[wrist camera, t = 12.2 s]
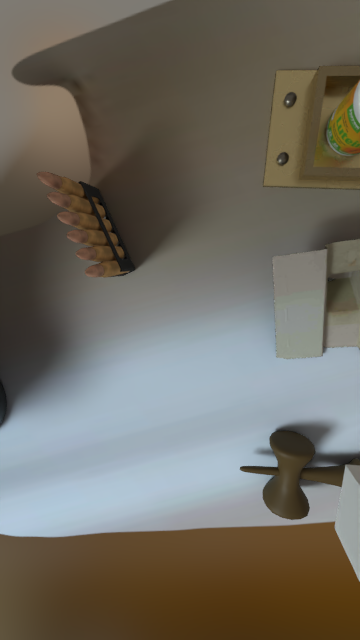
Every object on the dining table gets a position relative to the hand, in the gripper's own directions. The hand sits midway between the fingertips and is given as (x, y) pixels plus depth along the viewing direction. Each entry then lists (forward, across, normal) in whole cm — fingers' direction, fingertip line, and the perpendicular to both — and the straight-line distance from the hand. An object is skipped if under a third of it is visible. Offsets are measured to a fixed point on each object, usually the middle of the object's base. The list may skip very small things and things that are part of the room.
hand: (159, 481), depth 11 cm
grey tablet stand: (+28, +18, +3) cm, 33 cm away
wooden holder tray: (+27, +16, +21) cm, 38 cm away
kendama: (+28, +17, -20) cm, 38 cm away
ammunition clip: (+28, -10, +10) cm, 32 cm away
